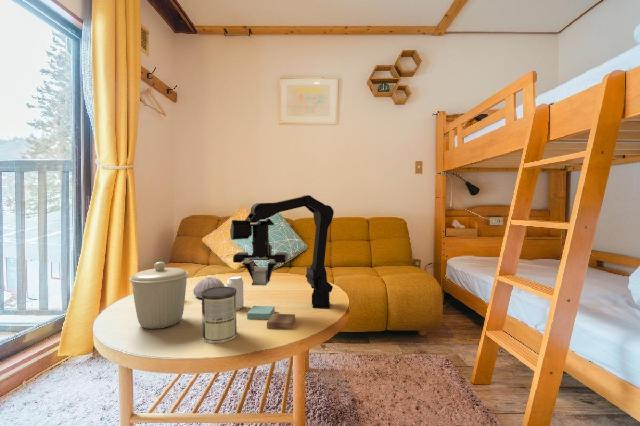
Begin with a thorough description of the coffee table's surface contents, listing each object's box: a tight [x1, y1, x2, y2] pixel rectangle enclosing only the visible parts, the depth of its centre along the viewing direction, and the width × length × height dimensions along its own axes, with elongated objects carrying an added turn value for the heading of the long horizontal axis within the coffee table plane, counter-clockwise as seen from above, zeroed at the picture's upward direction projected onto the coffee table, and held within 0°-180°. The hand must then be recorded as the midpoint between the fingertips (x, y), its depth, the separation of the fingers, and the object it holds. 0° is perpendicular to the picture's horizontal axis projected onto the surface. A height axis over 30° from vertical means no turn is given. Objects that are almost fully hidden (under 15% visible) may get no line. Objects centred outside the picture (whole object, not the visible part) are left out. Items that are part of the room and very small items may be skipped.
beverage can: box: [226, 275, 245, 311], centre depth 127 cm, size 6×6×12 cm
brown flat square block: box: [266, 313, 296, 330], centre depth 111 cm, size 8×8×2 cm
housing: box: [251, 266, 271, 287], centre depth 119 cm, size 7×5×5 cm
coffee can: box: [201, 286, 238, 344], centre depth 101 cm, size 10×10×14 cm
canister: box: [128, 261, 190, 330], centre depth 111 cm, size 18×18×21 cm
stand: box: [246, 305, 276, 320], centre depth 119 cm, size 8×8×2 cm
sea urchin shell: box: [192, 276, 226, 299], centre depth 144 cm, size 13×14×8 cm
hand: (261, 281), depth 119 cm, fingers closed on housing, 5 cm apart
